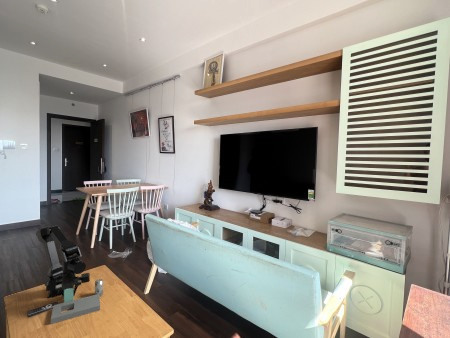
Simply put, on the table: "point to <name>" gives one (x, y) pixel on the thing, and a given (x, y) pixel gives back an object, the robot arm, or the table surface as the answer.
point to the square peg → (68, 295)
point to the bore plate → (75, 308)
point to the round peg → (99, 287)
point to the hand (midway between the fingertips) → (68, 296)
